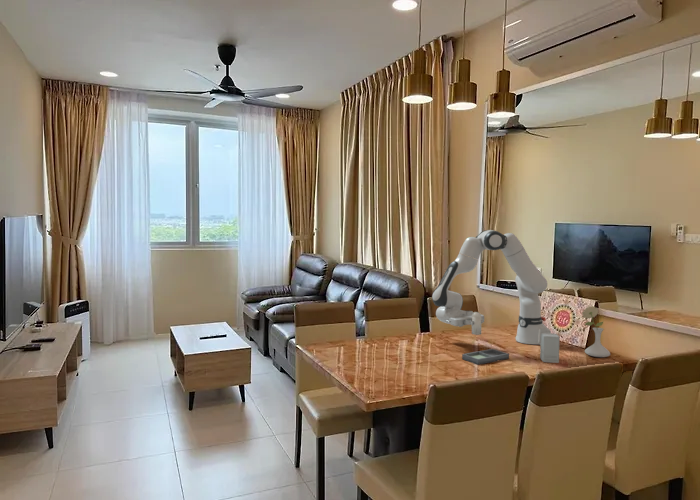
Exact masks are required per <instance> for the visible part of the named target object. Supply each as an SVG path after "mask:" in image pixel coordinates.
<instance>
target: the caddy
mask: <svg viewBox="0 0 700 500" xmlns="http://www.w3.org/2000/svg"><path fill="white" fill-rule="evenodd" d="M461 355H462V357H461V359H462V360H464V361H465V362H466V361H467V362H469V363H472V364H475V365H478V366H479V365H484V364H489V363H494V362H495V363H496V362H499V361H504V360H508V359H510V354H509V353H508V352H504V351H501V350H498V349H495V348H489V349H484V350H479V351H473V352H467V353H462V354H461Z"/></svg>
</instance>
